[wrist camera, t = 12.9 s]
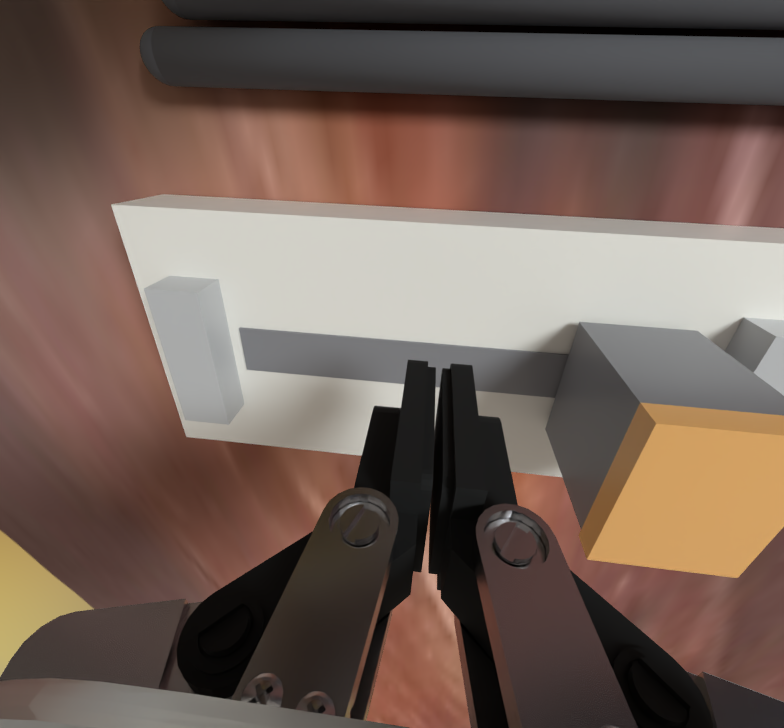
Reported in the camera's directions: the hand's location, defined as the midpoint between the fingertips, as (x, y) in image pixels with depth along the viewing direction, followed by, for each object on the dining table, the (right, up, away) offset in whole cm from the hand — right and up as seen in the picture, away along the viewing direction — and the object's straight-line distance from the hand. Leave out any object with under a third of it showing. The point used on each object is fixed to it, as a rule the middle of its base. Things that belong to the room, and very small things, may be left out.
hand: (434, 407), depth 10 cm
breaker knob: (+7, 0, +4) cm, 9 cm away
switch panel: (+2, +3, +8) cm, 8 cm away
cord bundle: (+3, +12, +2) cm, 12 cm away
